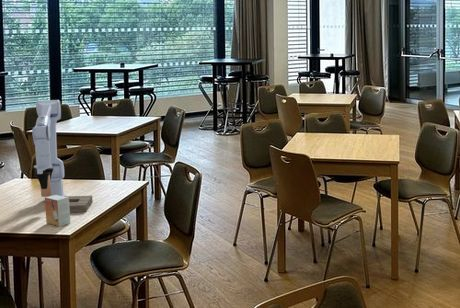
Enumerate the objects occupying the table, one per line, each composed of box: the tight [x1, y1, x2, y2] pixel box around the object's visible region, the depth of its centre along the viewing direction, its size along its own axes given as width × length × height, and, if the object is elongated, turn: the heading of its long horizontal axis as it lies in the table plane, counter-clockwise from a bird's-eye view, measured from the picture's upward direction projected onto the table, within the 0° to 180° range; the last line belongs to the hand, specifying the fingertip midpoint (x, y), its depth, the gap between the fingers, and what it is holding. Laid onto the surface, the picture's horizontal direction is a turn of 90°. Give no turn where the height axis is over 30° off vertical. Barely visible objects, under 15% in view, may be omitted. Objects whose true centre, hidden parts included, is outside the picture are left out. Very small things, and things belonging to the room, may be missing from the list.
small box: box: [44, 195, 71, 227], centre depth 249 cm, size 8×6×10 cm
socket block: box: [63, 195, 94, 214], centre depth 272 cm, size 16×14×3 cm
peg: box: [39, 174, 51, 198], centre depth 265 cm, size 4×4×9 cm
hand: (45, 187), depth 265 cm, fingers closed on peg, 4 cm apart
